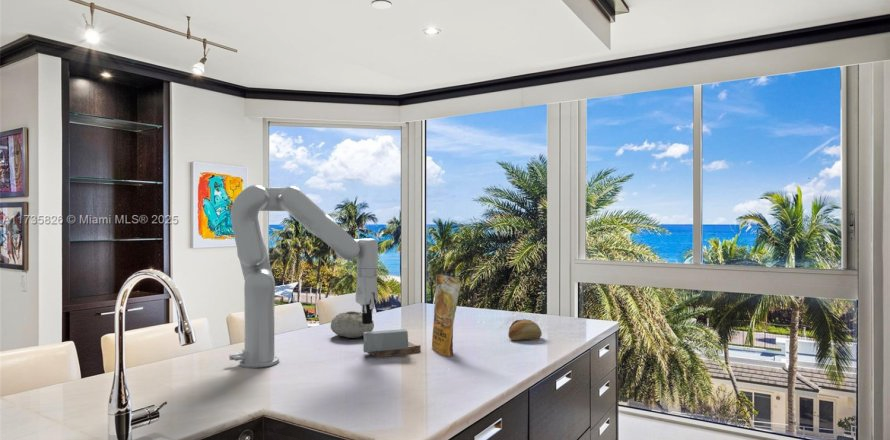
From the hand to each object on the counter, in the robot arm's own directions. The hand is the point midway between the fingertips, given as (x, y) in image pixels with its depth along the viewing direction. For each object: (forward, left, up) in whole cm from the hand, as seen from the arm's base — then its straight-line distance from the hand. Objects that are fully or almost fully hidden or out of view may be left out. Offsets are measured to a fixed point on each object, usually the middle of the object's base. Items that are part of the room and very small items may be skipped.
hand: (367, 323), depth 189 cm
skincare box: (-2, -1, -6) cm, 6 cm away
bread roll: (+65, -10, -12) cm, 67 cm away
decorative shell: (+6, +30, -11) cm, 33 cm away
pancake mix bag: (+26, -11, -11) cm, 30 cm away
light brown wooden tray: (+10, 0, -11) cm, 15 cm away
